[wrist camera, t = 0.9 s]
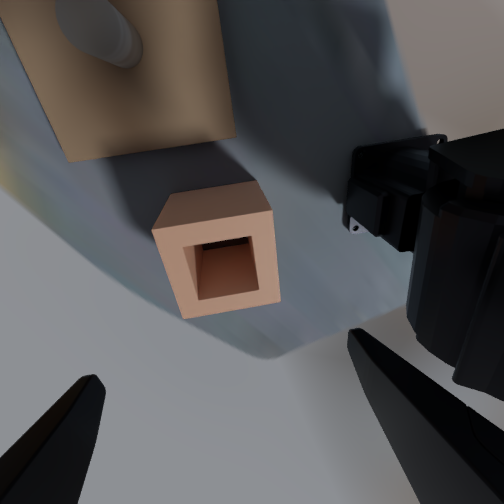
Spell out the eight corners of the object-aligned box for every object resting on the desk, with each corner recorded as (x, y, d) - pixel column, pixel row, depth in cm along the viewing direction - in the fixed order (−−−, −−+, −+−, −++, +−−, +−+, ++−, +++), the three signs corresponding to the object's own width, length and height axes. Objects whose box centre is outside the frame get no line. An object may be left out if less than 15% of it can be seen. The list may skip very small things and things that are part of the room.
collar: (256, 180, 18) (272, 210, 13) (264, 253, 21) (280, 301, 16) (170, 193, 18) (151, 230, 12) (191, 265, 21) (183, 319, 15)
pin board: (200, -110, 11) (189, -244, 7) (235, 135, 16) (242, 146, 12) (-33, -84, 11) (-198, -209, 7) (76, 159, 16) (24, 179, 12)
